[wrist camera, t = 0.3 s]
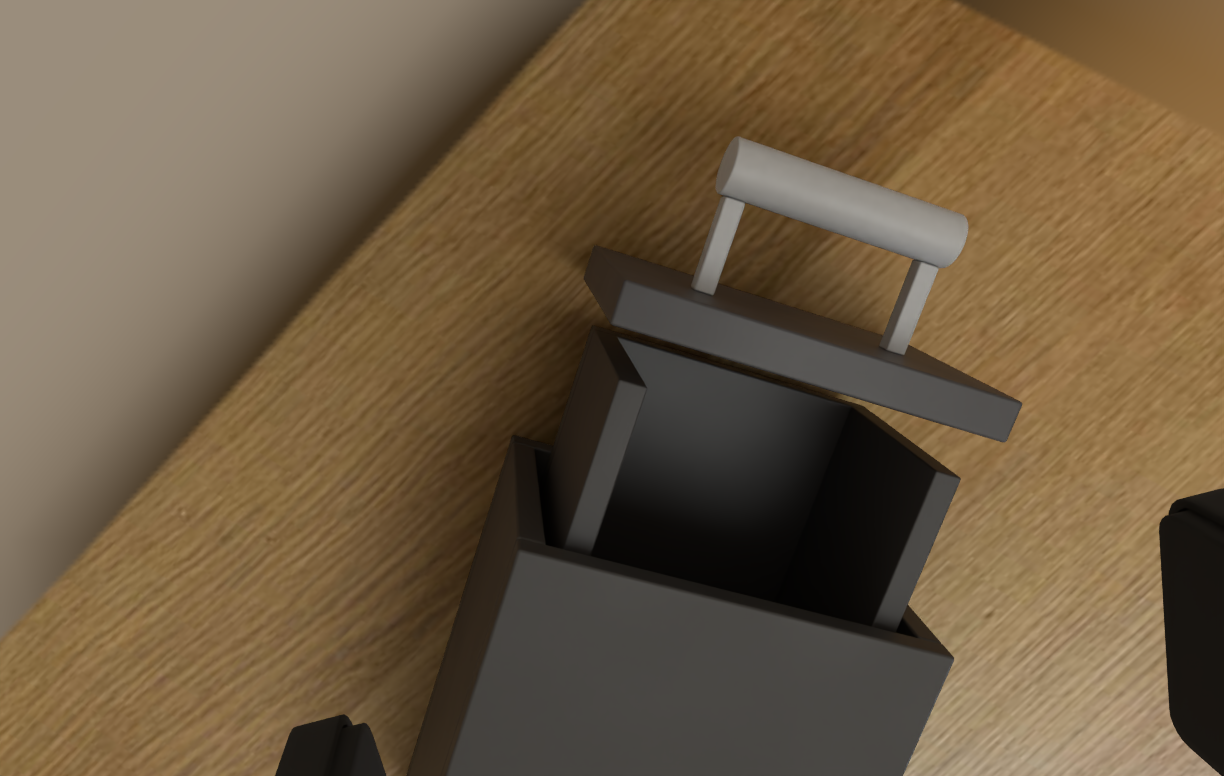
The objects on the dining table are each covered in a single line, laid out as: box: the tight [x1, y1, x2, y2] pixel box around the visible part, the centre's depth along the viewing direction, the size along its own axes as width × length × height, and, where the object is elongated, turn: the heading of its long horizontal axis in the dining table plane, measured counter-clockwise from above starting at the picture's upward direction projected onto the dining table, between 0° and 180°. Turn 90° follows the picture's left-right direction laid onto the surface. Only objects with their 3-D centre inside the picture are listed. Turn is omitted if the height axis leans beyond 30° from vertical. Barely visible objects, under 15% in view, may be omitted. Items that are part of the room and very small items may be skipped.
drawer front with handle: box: [539, 137, 1022, 633], centre depth 29 cm, size 18×11×8 cm, turn 162°
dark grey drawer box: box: [406, 435, 954, 776], centre depth 31 cm, size 15×13×10 cm
